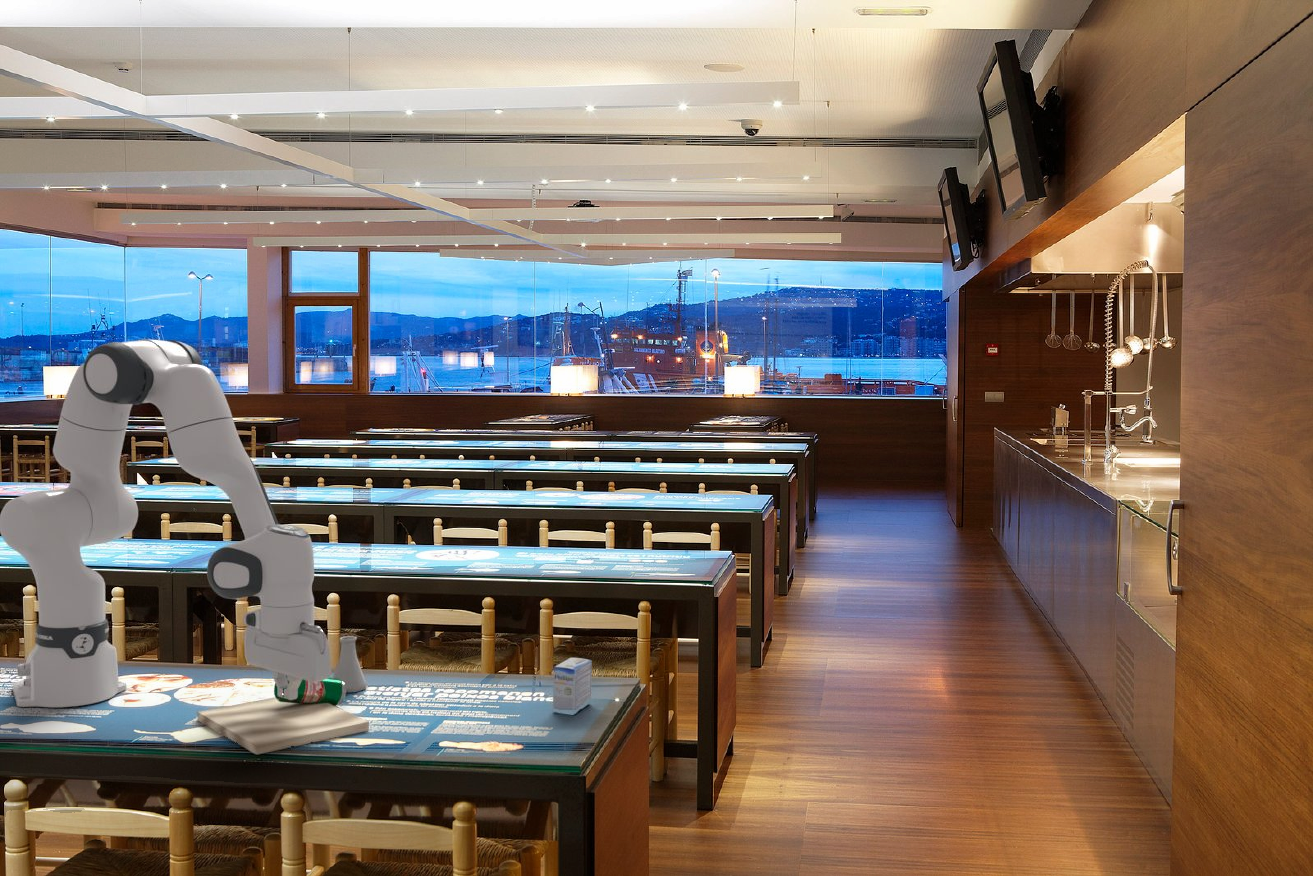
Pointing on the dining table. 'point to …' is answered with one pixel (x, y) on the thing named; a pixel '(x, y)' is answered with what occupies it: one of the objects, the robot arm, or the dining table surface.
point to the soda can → (317, 692)
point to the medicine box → (572, 683)
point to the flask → (349, 666)
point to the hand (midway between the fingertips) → (287, 697)
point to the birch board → (280, 723)
